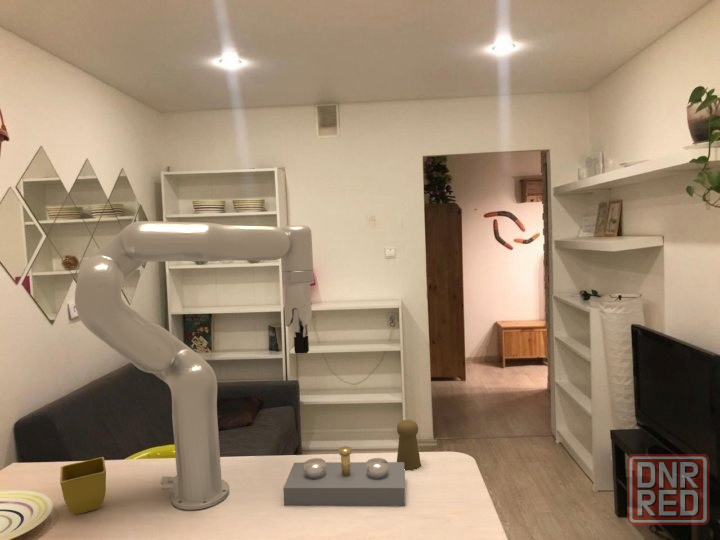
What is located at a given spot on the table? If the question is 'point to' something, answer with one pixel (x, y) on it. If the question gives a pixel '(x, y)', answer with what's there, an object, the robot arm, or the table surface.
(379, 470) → the knob
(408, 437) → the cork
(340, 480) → the mount
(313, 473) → the knob
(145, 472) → the table surface
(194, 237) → the robot arm
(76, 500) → the flower pot
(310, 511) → the table surface
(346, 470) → the brass shaft
